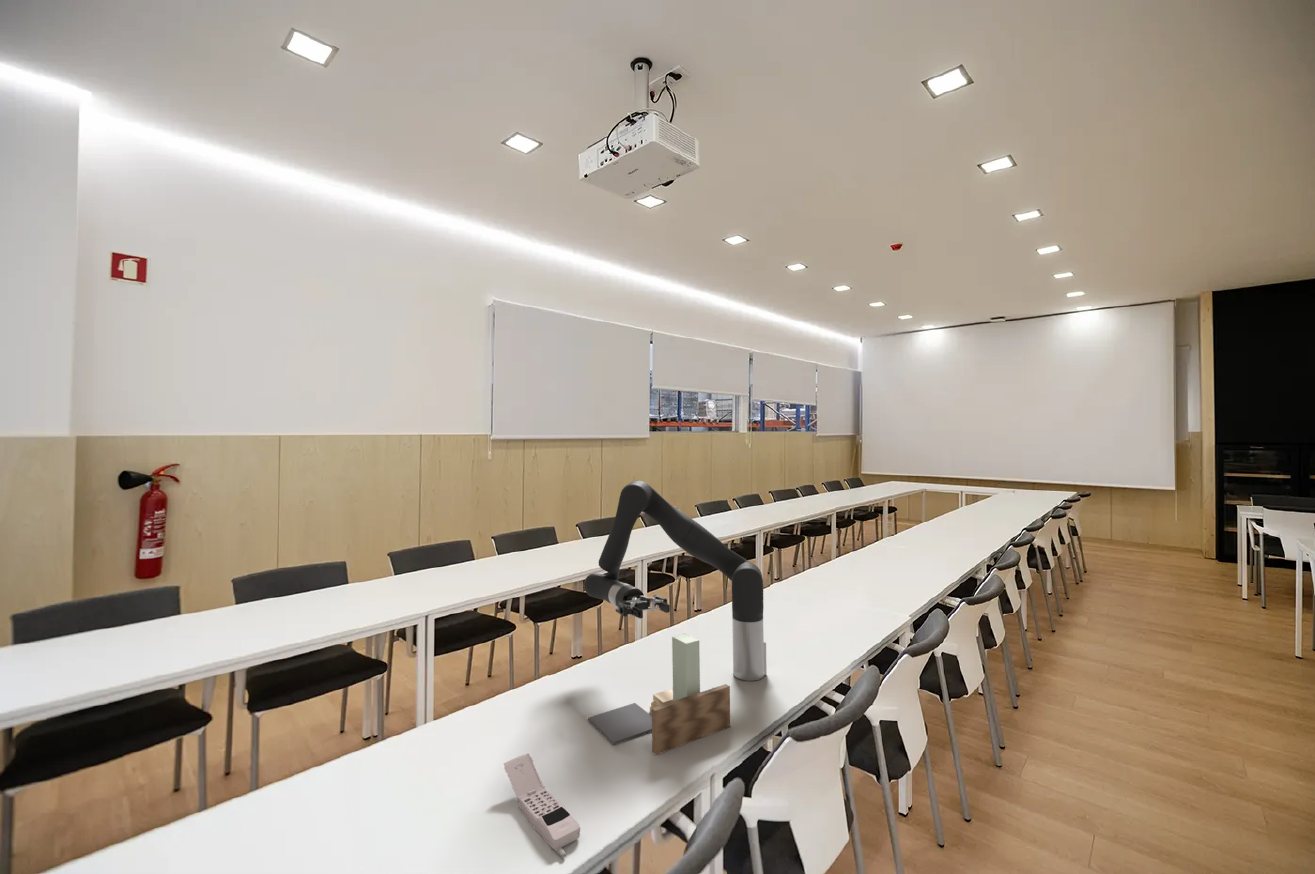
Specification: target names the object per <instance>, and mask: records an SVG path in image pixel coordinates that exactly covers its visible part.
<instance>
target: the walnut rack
mask: <svg viewBox="0 0 1315 874" xmlns="http://www.w3.org/2000/svg"><path fill="white" fill-rule="evenodd" d="M730 694H731V686H730V685H728V684H727V683H725V684H721V685H719V686H716V687H712V688H710V689H709V688H708V689H706V690H703V691H700V693H697V694H694V695H691V696H688V697H684V698H681V699H678V700H675V701H672V702H669V703H666V704H663V705H660V706H657V707H654V708H652V712H651V716H652V732H651V750H652V751H651V752H652V753H653V754H654V755H655V756H657V755H659V754H662V753H664V752H667V751H670V750H672V749H675V748H678V747H680V746H683V745H685V744H688V743H690V742H693V741H696V740H698V739H701V738H705V737H707V736H709V735H712V734H714V733H717V732H720V731H723V730H725V729H728V728H730V727H731V695H730Z"/></svg>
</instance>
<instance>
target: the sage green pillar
mask: <svg viewBox="0 0 1315 874" xmlns="http://www.w3.org/2000/svg"><path fill="white" fill-rule="evenodd" d="M671 642H672V643H671V646H672V647H671V648H672V649H671V650H672V651H671V652H672V653H671V655H672V656H671V658H672V659H671V661H672V691H673V701H675V700H678V699H681V698H684V697H688V696H691V695H694V694H697V693H700V692H701V674H700V673H701V670H700V669H701V668H700V667H701V666H700V665H701V663H700V662H701V661H700V660H701V659H700V658H701V657H700V656H701V655H700V639H698V638H695V637H694V636H691V635H690V634H688V633H681V634H676V635H672V636H671Z"/></svg>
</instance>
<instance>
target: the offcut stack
mask: <svg viewBox="0 0 1315 874" xmlns="http://www.w3.org/2000/svg"><path fill="white" fill-rule="evenodd" d="M652 698H653V699H652V701H651V702H650V706H649V712H650V713H652V708H654V707H657V706H660V705H663V704H666V703H669V702H672V701H673V690H672V689H667V690H664V691H661V692H657V693H654V694H652Z"/></svg>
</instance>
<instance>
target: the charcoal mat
mask: <svg viewBox="0 0 1315 874" xmlns="http://www.w3.org/2000/svg"><path fill="white" fill-rule="evenodd" d="M587 721H588V722H590V724H591V725H592V726H594V727H595V729H596V730H598V731H599V732H600V734H601V735H603V736H604V737H605V738H606V739H607V741H608V742H610V743H611V744H612V745H613V746H614V745H618V744H620V743H624V742H626V741H629V740H633V739H634V738H637V737H641V736H643V735H645V734H649V733H652V714H650V713H649V712H648V711H646V710H645V709H644V708H643V707H641V706H640V705H638V703H636V702H634V703H630V704H627V705H624V706H621V707H617V708H614V709H611V710H608V711H604V712H601V713H598V714H595V715H592V716H588V717H587Z"/></svg>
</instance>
